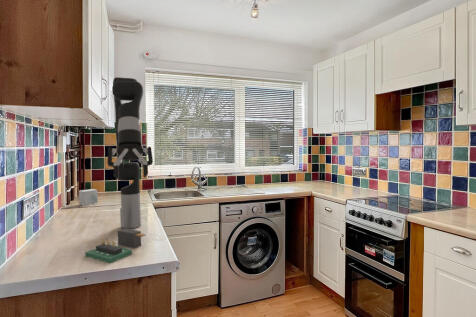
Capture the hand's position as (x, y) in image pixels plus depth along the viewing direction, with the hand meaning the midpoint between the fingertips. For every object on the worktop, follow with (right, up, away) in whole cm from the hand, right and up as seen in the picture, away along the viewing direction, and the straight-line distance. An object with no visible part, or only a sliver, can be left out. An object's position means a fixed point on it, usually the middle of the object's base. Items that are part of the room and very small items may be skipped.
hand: (131, 177), depth 97 cm
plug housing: (-9, -30, +25) cm, 40 cm away
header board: (-14, -31, +15) cm, 37 cm away
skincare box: (-71, -27, +112) cm, 135 cm away
